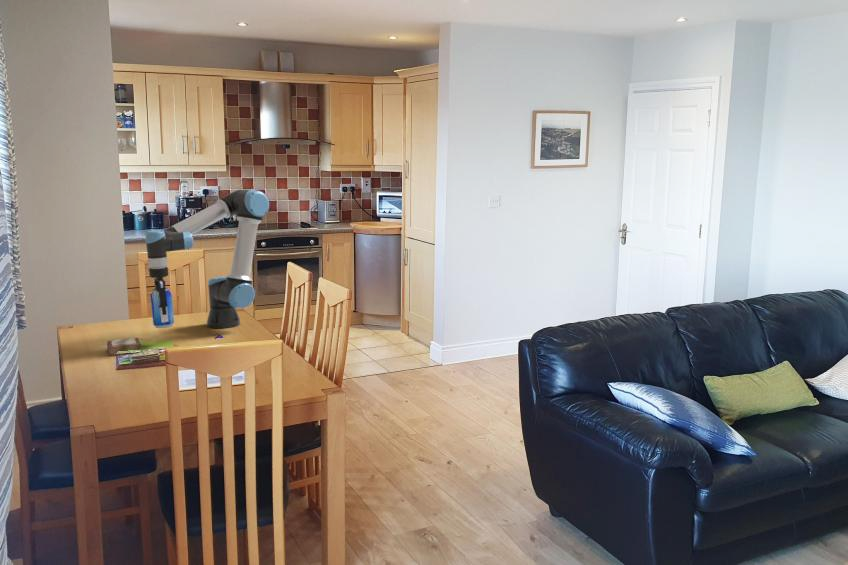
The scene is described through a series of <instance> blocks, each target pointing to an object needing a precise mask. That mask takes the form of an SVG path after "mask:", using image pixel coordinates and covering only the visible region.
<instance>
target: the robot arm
mask: <svg viewBox="0 0 848 565" xmlns="http://www.w3.org/2000/svg"><path fill="white" fill-rule="evenodd" d="M269 201H270V200H269V198H268V197H267V195H266V194H265V193H264V192H262V191H261V190H256V189H238V190H237V189H236V190H234V191H232V192H230V193H227V194H226V195H224V196H222V197H220V198H218V199H217V200H216V202H214V203H213V204H211V205H210V206H208V207H206V208H204V209H202V210H200V211H198V212H195V214H193V215H190V216H188V217H187V218H185V219H182V220H181V221H179V222H177V223H175V224H174V225H173V224H172V225H171V226H168V227H167V228H165V229H153V230H147V231H146V233H145V246H146V252H147V260H146V264H148V276H149V278H151V279H154V280H153V281H154V289H156V290H157V291H158V292H159V299H160V306H159V308H160V313H161V322H168V312H167V305H168V304H167V299H166V288H167V287H166V281H165V279H164V278H165V277H168V276H169V267H168V266H169V263H168V255H167V254H168V252H177V251H186V250H189V249H192V248H193V247H194V243H195V242H194V236H193V235H195V234H196V233H198V232H200V231H202V230H205V228H208V227H210V226H211V225H213V224H215V223H217V222H219V221H221V220H222V219H224V218H225V219H229V218H231V217H234V216H236V219H237V220H238V227H237V232H236V239H235V244H234V252H233V258H232V263H231V270H230V273H229V274H228V275H227V276H226V275H225V276H217V277H212V278H209V279H208V286H207V287H208V296H209V298H208V299H209V312H208V316H207V319H206V326H207V327H208V328H212V329H227V328H233V327H237V326H239V325H240V324H241V319H240V316H239V314H238V311H237V309H245V308H247V307H249V306H251V304H252V303H253V302H254V301H255V300H254V299H255V297H256V291H255V289H254V287H253V281H254V280H253V279H252V277H251V272H252V271H251V270H252V267H253V265H252V264H253V259H254V252H255V247H256V245H255V244H256V240H257V234H258V229H259V228H258V227H259V224H261V223H262V222H263V218H264V217H263V216H265V215H266V214H267V213H268V212H269V209H270V202H269ZM162 303H164V304H162ZM236 308H237V309H236Z"/></svg>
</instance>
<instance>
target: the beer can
mask: <svg viewBox="0 0 848 565" xmlns="http://www.w3.org/2000/svg"><path fill="white" fill-rule="evenodd" d="M165 288H166V299H167V304H168V305H167V312H168V322H161V313H160V308H159V306H160V299H159V292H158V291H157V290H156V289H155V288H154V289H152V292H151V294H150V305H151V313H152V323H153V326H154V327H155V328H156V329H166V328H167V329H169V328H171V327H173V325H174V324H175V317H174V306H173V295H172V292H170V289H169V288H167V287H165ZM162 304H164V303H162Z"/></svg>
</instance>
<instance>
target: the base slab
mask: <svg viewBox="0 0 848 565" xmlns="http://www.w3.org/2000/svg"><path fill="white" fill-rule="evenodd" d="M106 345H107V352H108V355H109V357H115V356H117V355H116V353H117V352H118V351H128V350H140V349H141V350H142V345H141V342H140V340H139V338H138V337H129V338H120V339H119V338H118V339H111V340H107V341H106Z"/></svg>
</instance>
